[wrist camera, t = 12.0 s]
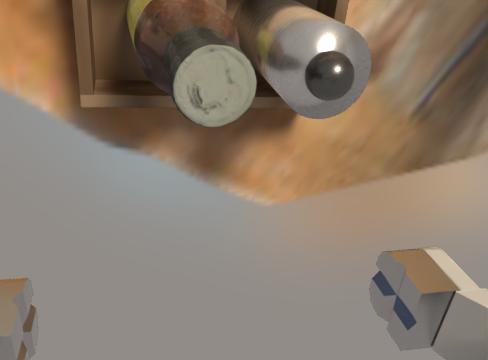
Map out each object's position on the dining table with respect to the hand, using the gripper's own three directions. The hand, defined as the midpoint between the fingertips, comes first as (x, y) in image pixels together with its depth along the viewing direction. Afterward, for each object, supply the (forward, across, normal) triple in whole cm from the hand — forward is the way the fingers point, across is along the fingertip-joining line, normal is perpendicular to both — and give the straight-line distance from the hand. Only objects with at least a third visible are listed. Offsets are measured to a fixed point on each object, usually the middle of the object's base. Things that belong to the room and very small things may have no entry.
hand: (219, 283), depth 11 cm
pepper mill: (+33, -10, 0) cm, 34 cm away
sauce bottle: (+32, -1, -1) cm, 32 cm away
